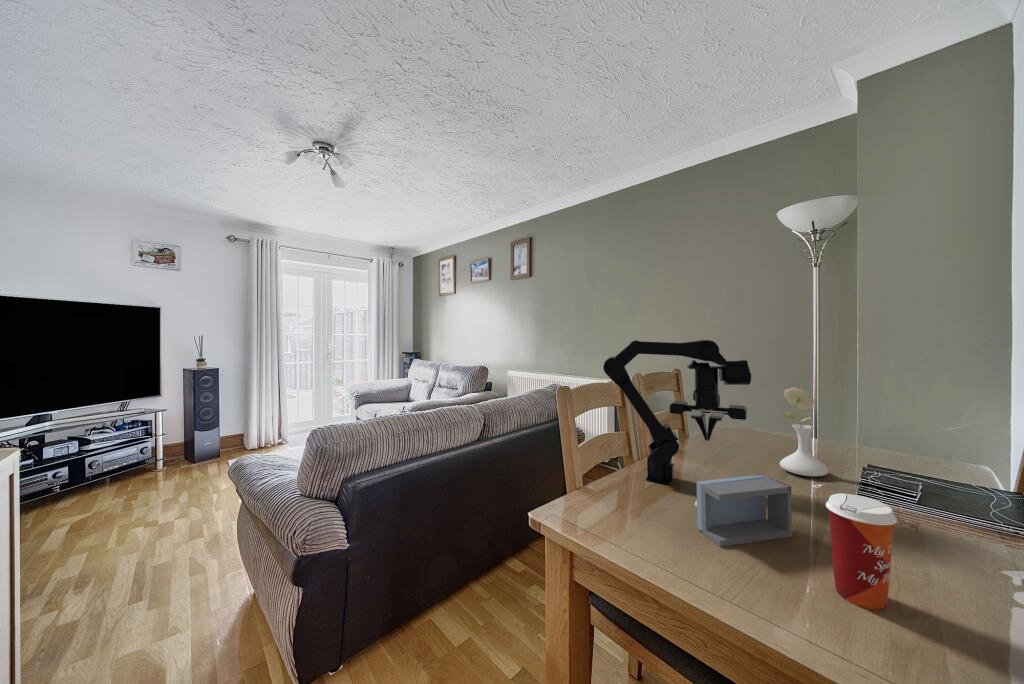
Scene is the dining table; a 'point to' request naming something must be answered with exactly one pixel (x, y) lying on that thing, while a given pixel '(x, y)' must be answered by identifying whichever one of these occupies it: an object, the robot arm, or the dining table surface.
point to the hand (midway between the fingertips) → (707, 440)
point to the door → (731, 506)
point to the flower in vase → (802, 438)
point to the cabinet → (755, 530)
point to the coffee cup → (861, 548)
